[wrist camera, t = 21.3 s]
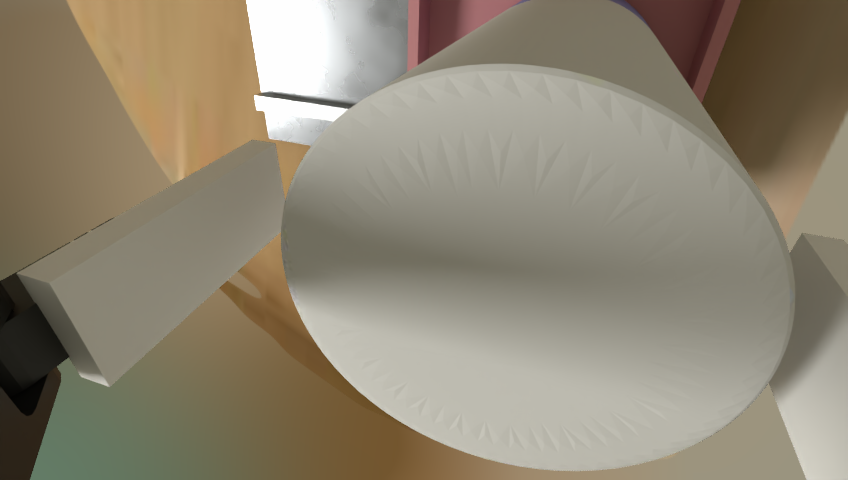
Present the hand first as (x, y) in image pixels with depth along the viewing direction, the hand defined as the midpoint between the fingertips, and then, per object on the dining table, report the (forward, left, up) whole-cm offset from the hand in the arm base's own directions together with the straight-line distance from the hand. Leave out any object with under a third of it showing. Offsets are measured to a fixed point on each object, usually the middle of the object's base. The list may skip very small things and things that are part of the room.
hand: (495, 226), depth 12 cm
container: (0, +1, -17) cm, 17 cm away
